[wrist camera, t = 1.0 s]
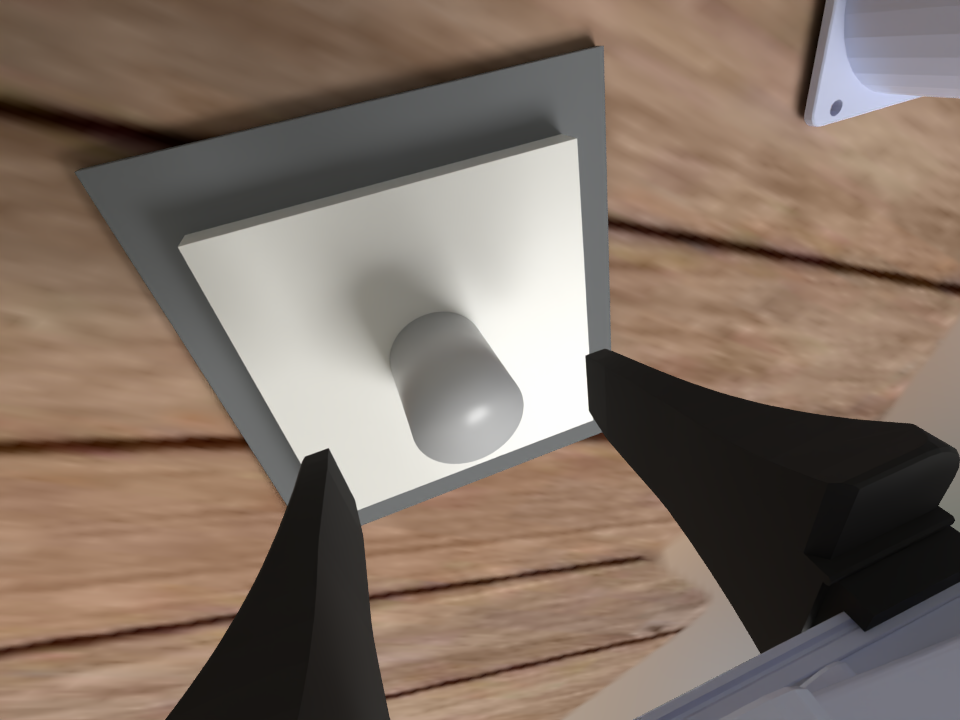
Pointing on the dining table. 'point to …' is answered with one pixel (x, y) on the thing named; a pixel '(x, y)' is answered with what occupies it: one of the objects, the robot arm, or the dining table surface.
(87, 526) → the dining table surface
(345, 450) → the lid
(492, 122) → the mat
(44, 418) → the dining table surface
